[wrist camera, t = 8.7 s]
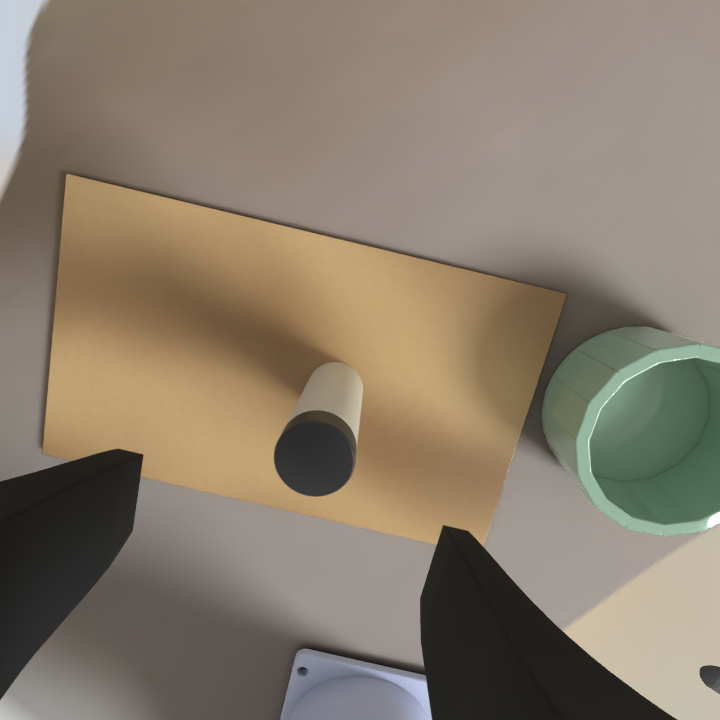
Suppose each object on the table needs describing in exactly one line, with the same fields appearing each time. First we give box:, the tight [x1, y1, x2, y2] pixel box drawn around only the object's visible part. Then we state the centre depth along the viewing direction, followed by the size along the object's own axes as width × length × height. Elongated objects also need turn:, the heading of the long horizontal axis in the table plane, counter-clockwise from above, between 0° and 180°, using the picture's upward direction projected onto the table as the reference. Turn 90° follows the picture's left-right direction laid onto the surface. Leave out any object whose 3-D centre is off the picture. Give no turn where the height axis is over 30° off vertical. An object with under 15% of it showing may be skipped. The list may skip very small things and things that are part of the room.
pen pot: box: [542, 326, 720, 536], centre depth 19 cm, size 7×7×4 cm
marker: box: [274, 362, 363, 497], centre depth 17 cm, size 2×2×7 cm
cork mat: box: [42, 174, 567, 546], centre depth 21 cm, size 12×20×1 cm, turn 77°
